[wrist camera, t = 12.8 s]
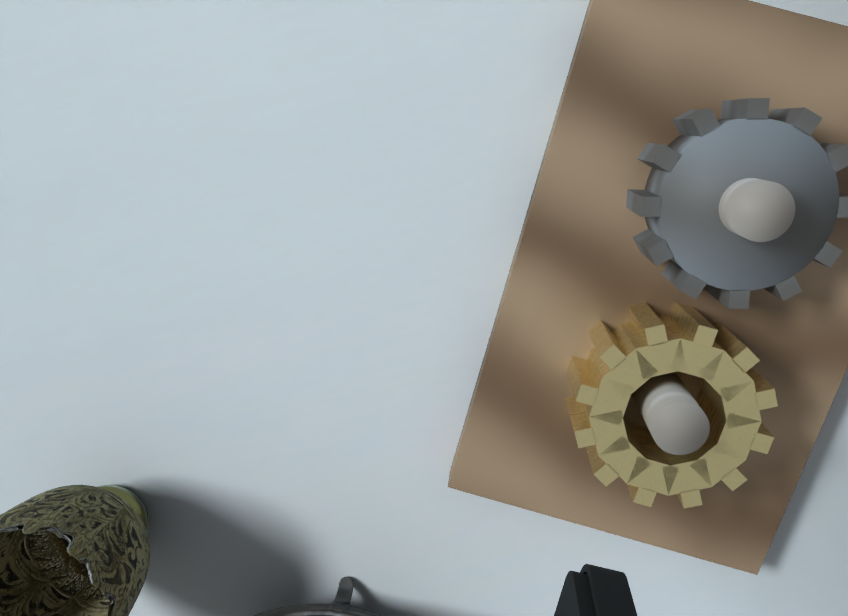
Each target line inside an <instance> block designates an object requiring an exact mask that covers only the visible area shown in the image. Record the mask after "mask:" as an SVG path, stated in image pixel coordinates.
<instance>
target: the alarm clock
mask: <svg viewBox="0 0 848 616" xmlns="http://www.w3.org/2000/svg"><path fill="white" fill-rule="evenodd" d="M352 592H353V581H352V579H351V578H349V577H344V578H342V579H341V581H340V583H339V588H338V591H337V595H336V598H335V600H334V602H333V603H332V604H307V605H296V606H289V607H283V608H278V609H274V610H270V611H266V612H263V613H260V614H257V615H254V616H380V615H377V614H375V613H372V612H369V611H365V610H361V609H358V608H354V607H351V606H350V600H351V596H352Z"/></svg>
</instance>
